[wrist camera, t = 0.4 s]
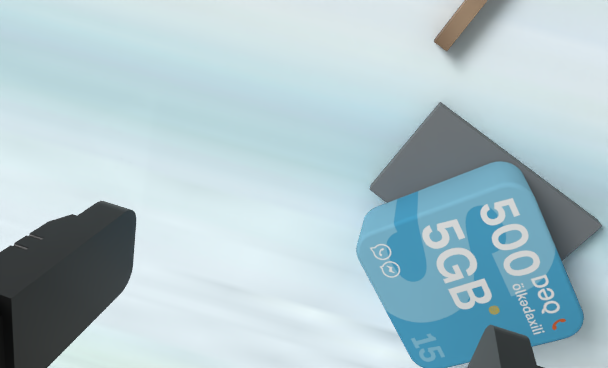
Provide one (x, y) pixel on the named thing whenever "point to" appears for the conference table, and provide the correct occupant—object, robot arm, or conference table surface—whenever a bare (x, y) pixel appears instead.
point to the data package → (467, 266)
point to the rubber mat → (468, 156)
